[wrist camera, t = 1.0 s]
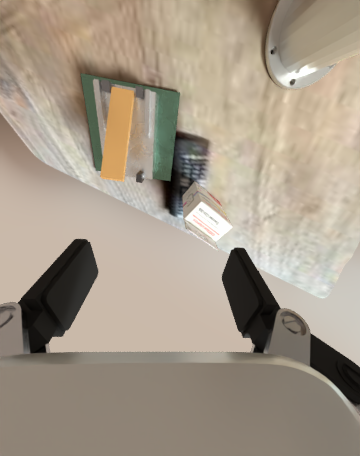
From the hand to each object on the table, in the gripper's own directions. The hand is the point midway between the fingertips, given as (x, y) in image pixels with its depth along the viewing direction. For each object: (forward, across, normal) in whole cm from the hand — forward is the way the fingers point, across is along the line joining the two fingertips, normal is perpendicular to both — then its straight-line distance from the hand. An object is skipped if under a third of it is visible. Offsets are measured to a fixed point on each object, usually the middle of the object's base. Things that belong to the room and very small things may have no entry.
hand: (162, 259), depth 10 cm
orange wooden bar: (+18, +8, -6) cm, 21 cm away
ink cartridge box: (+28, -8, +6) cm, 29 cm away
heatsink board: (+28, +8, -6) cm, 29 cm away
